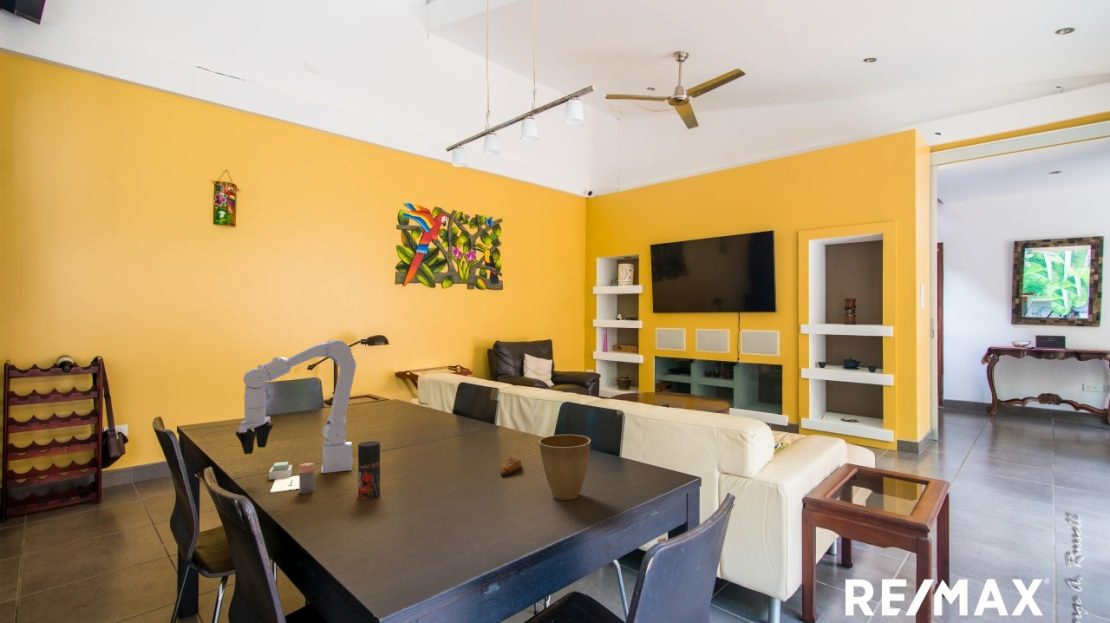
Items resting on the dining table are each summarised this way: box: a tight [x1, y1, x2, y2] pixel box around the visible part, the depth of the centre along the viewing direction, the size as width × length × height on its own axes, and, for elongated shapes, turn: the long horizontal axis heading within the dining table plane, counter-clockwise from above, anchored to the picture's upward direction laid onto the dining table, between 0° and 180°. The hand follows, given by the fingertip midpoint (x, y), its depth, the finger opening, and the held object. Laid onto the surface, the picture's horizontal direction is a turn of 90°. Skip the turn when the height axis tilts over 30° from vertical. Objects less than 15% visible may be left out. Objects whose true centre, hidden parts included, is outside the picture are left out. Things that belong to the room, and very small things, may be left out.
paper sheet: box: [269, 475, 299, 494], centre depth 157 cm, size 10×14×1 cm
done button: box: [272, 461, 289, 471], centre depth 164 cm, size 4×4×2 cm
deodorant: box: [357, 440, 381, 500], centre depth 146 cm, size 6×6×15 cm
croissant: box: [499, 456, 523, 477], centre depth 168 cm, size 14×7×5 cm, turn 161°
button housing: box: [268, 464, 293, 481], centre depth 164 cm, size 6×6×2 cm
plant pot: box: [538, 434, 592, 501], centre depth 144 cm, size 15×15×16 cm
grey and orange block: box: [298, 462, 316, 495], centre depth 149 cm, size 4×4×8 cm
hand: (255, 450), depth 158 cm, fingers open, 7 cm apart
